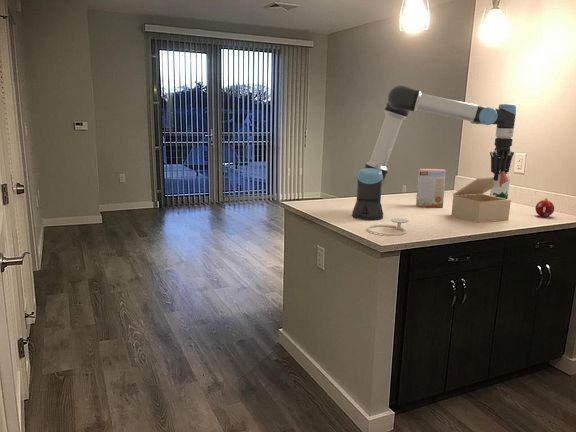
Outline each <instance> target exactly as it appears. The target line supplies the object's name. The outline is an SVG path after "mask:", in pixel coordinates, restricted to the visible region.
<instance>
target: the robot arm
mask: <svg viewBox="0 0 576 432" xmlns="http://www.w3.org/2000/svg"><path fill="white" fill-rule="evenodd" d="M383 111H384V113H385V117H384V120H383V122H382V126H381V128H380V131H379V134H378V138H377V140H376V142H375V145H374V148H373V151H372V154H371V157H370V159H369V161H367V162H365V164H364V165H365V166H364V168H361V169H359V170H358V173H357V184H356V185H357V186H356V200H355V204H354V206H353V209H352V213H351V217H352V216H353V217H352V218H354V217H355V219H357V218H358V219H359V220H363V219H364V220H365V221H379V220H382V219H384V210H383V208H382V203H381V199H382V197H381V196H382V187H383V186H384V184H385V180H386V176H387V174H388V171H389V169H388V167H387V165H388V162H389V159H390V156H391V153H392V151H393V148H394V146H395V143H396V140H397V138H398V134H399V131H400V128H401V126H402V123H403V121H404V120H405V119H406V118H408V116H409V113H410V112H416V111H420V112H425V113H430V114H435V115H439V116H444V117H449V118H454V119H458V120H463V121H468V122H470V124H473V125H475V124H476V125H485V126H491V125H496V127H495V129H496V131H495V138H494V146H495V148H494V151H490V153H489V154H490V172H491V173H492V174H493V176H494V187H496V188H499V187H500V188H503V184H502V185H500V186H499V184H500V176H501V174H499V173H501V172H503V171H505V174H506V175H507V174H508V173H509V172H510V169H511V163H512V160H513V157H514V155H515V152H514V151H511V147H512V146H513V137H514V129H515V122H516V115H517V106H516V104H513V103H500V104H499V106H498V107H495V108H494V107H491V106H484V105H478V104H474V103H470V102H464V101H460V100H454V99H452V98H451V99H449V98H446V97H445V98H444V97H441V96H436V95H431V94H427V93H422V91H421V90H418V89H413V88H411V87H409V86H406V85H402V84H400V85H396V86H394V87H392V89H390V91H389V92H388V95H387V102H386V105H385V108H384V110H383Z"/></svg>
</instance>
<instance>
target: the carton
mask: <svg viewBox="0 0 576 432" xmlns="http://www.w3.org/2000/svg"><path fill="white" fill-rule="evenodd" d="M452 196H453V195H452ZM511 201H512V200H511V199H509V198H507V199H504V198H499V197H495V196H490V194H485V193H483V194H471V195H455V196H453V197H452V204H451V206H452V207H451V216H453V217H458V218H461V219H463V220H467V221H471V222H475V223H478V224H479V223H487V222H499V221H509V218H510V209H511Z"/></svg>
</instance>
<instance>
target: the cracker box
mask: <svg viewBox="0 0 576 432" xmlns="http://www.w3.org/2000/svg"><path fill="white" fill-rule="evenodd" d="M417 171H418V173H417V185H416V196H415V198H416V199H415V206H417V207H418V208H441V209H442V208H444V198H445V188H446V187H445V186H446V175H447V173H446V172H447V170H445V169H441V168H439V169H437V168H418V170H417Z"/></svg>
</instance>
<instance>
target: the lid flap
mask: <svg viewBox="0 0 576 432" xmlns="http://www.w3.org/2000/svg"><path fill="white" fill-rule="evenodd" d="M499 174H501V176H500V184H499V186H500V185H502V184H504V183H506V182H507V181H508V179H510V178H511V177H510V175H509V176H507V174H505V171H503V172H501V173H499ZM493 187H494V177H493V176H491V177H490V176H489V177H488V176H487V177H478V178H476V179H474V180H473V181H472V182H470V183H468V184H466V185H465V186H464V187H462V188H460V189H459V190H456V192H454V193H452V196H458V195H474V194H485V193H487V192H488V191H490V190H491V189H492V188H493Z"/></svg>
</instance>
